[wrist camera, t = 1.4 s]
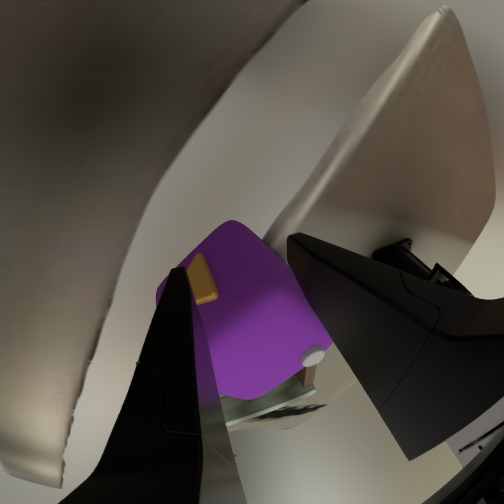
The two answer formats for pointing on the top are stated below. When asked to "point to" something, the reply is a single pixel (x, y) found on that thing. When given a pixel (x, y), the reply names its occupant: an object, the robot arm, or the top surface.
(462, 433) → the robot arm
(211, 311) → the toy camera
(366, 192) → the top surface
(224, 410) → the walnut dock
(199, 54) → the top surface
